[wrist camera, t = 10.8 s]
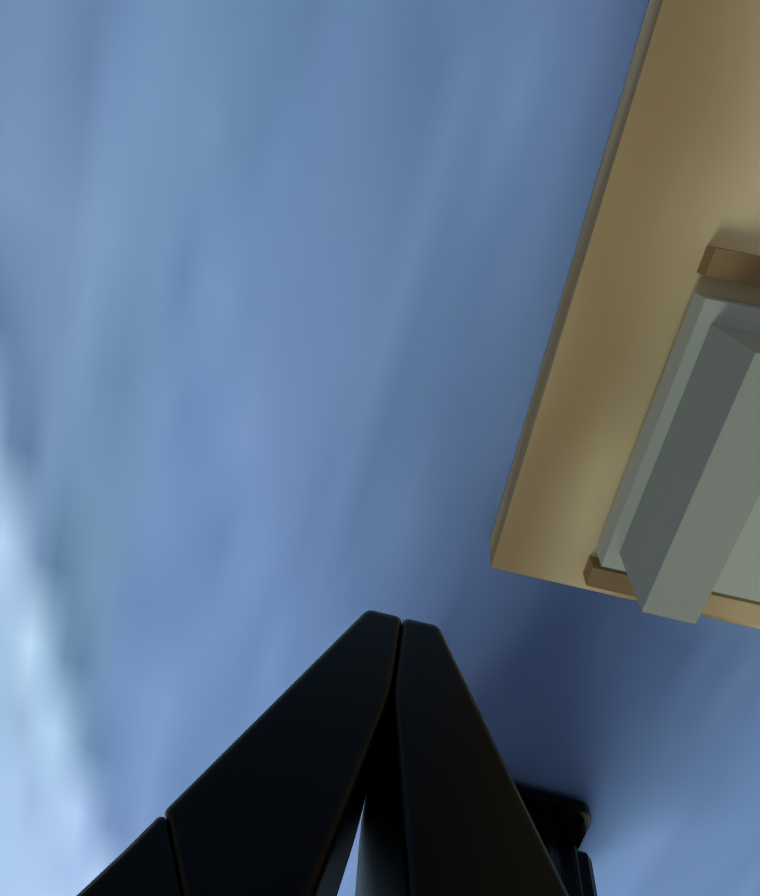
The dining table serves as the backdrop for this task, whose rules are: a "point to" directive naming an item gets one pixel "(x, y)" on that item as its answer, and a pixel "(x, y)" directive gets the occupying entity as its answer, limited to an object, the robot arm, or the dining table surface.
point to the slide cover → (695, 470)
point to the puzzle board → (640, 286)
